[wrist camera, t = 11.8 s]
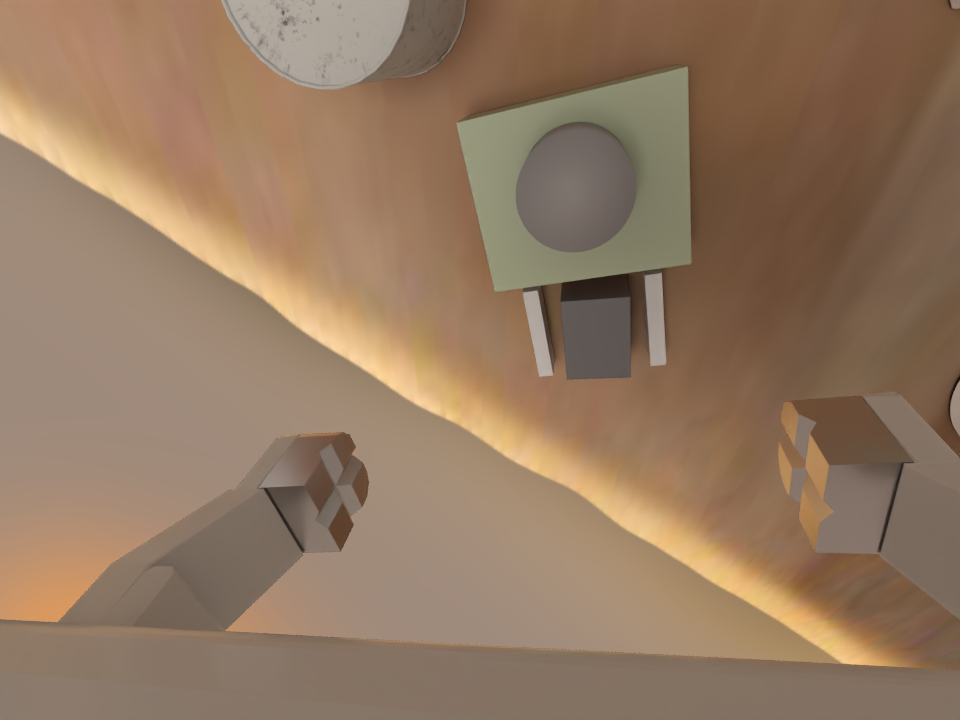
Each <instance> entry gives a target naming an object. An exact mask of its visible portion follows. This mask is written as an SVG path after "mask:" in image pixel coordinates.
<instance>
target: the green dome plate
mask: <svg viewBox="0 0 960 720" xmlns="http://www.w3.org/2000/svg"><path fill="white" fill-rule="evenodd" d="M456 125H457V129H458V133H459V138H460V142H461V146H462V151H463V155H464V160H465V164H466V168H467V173H468V177H469V181H470V186H471V190H472V194H473V199H474V203H475V207H476V212H477V216H478V220H479V225H480V229H481V233H482V238H483V242H484V246H485V251H486V255H487V259H488V264H489V268H490V272H491V277H492V281H493V285H494V290H495V292H499V291H506V290H513V289H520V288H524V289H523V297H524V302H525V307H526V312H527V317H528V322H529V327H530V332H531V337H532V342H533V347H534V352H535V357H536V362H537V367H538V372H539V377H540V376H551V375H553V372H554V362H555V359H554V353H553V348H552V342H551V337H550V331H549V326H548V320H547V314H546V309H545V303H544V298H543V292H542V287H541V285H548V284H555V283H562V282H569V281H576V280H583V279H590V278H597V277H604V276H611V275H618V274H625V273H632V272H639V271H642V280H643V294H644V308H645V322H646V337H647V351H648V355H649V360H650V365H651V366H658V365H666V350H665V329H664V309H663V289H662V273H661V270H660V268H667V267H674V266H681V265H688V264H691V211H690V155H689V100H688V67H687V66H682V65H673V66H669V67H665V68H661V69H657V70H653V71H649V72H645V73H641V74H637V75H633V76H629V77H625V78H620V79H616V80H612V81H608V82H604V83H600V84H596V85H592V86H588V87H584V88H580V89H576V90H572V91H567V92H563V93H559V94H555V95H551V96H547V97H543V98H539V99H535V100H531V101H527V102H523V103H518V104H514V105H510V106H506V107H502V108H498V109H494V110H490V111H486V112H482V113H478V114H474V115H470V116H467V117H465V118H464V119H462V120H460V121H458V122H457V123H456Z"/></svg>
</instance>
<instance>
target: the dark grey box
mask: <svg viewBox="0 0 960 720" xmlns="http://www.w3.org/2000/svg"><path fill="white" fill-rule="evenodd" d="M561 313H562V325H563V337H564V349H565V361H566V373H567V379H597V378H628V377H631V336H630V292H629V287H628V281H627V276H626V274H619V275H611V276H604V277H597V278H590V279H583V280H576V281H569V282H562V292H561Z"/></svg>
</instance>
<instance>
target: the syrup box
mask: <svg viewBox="0 0 960 720" xmlns="http://www.w3.org/2000/svg"><path fill="white" fill-rule="evenodd" d="M950 3H951V8H953V9H959V8H960V0H950Z"/></svg>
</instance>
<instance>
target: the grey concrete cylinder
mask: <svg viewBox="0 0 960 720" xmlns="http://www.w3.org/2000/svg"><path fill="white" fill-rule="evenodd" d="M221 2H222V4H223V6H224V9H225V11H226V13H227V16H228V18H229V19H230V21H231V23H232V24H233V26H234V27H235V29H236V31H237V32H238V34H239V35H240V37H241V39H242V40H243V41H244V43H245V44H246V45H247V46H248V47H249V48H250V49H251V50H252V52H253V53H254V54H255V55H256V56H257V57H258V58H259V60H261V61H262V62H263V63H264V64H266V65H267V66H268V67H269V68H271V69H272V70H273V71H275V72H276V73H277V74H278V75H280V76H282V77H284V78H286V79H288V80H290V81H292V82H294V83H296V84H298V85H301V86H305V87H309V88H314V89H318V90H330V89H342V88H345V87H348V86H351V85H355V84H361V83H367V82H373V81H379V80H386V79H392V78H400V77H413V76H416V75H419V74H422V73H425V72H427V71H428V70H430V69H431V68H433V67H435V66H436V65H438V64H439V63H440V62H441V61H442V60H443V58H444V57H445V56H446V55H447V54H448V53H449V52H450V50H451V49H452V47H453V45H454V43H455V42H456V40H457V38H458V36H459V33H460V30H461V27H462V24H463V21H464V18H465V10H466V3H467V0H221Z"/></svg>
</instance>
